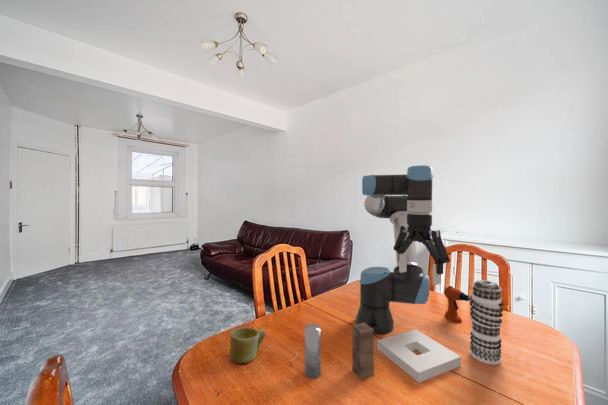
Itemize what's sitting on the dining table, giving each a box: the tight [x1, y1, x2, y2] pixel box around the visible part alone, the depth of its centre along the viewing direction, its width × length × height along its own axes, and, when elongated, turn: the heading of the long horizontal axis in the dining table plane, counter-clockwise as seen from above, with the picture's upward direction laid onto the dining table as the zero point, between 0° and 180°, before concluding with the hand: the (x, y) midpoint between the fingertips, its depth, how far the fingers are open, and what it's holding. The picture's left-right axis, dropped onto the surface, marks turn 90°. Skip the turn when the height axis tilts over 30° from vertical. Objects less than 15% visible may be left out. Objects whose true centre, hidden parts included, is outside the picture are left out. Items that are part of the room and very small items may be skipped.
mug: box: [229, 327, 266, 364], centre depth 87 cm, size 12×10×10 cm
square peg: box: [351, 323, 375, 381], centre depth 78 cm, size 4×4×14 cm
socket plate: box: [376, 329, 462, 383], centre depth 86 cm, size 18×18×3 cm
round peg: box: [304, 323, 322, 379], centre depth 78 cm, size 5×5×14 cm
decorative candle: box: [469, 279, 505, 366], centre depth 86 cm, size 9×9×25 cm
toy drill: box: [443, 285, 473, 324], centre depth 107 cm, size 5×18×14 cm, turn 8°
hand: (418, 277), depth 85 cm, fingers open, 13 cm apart
